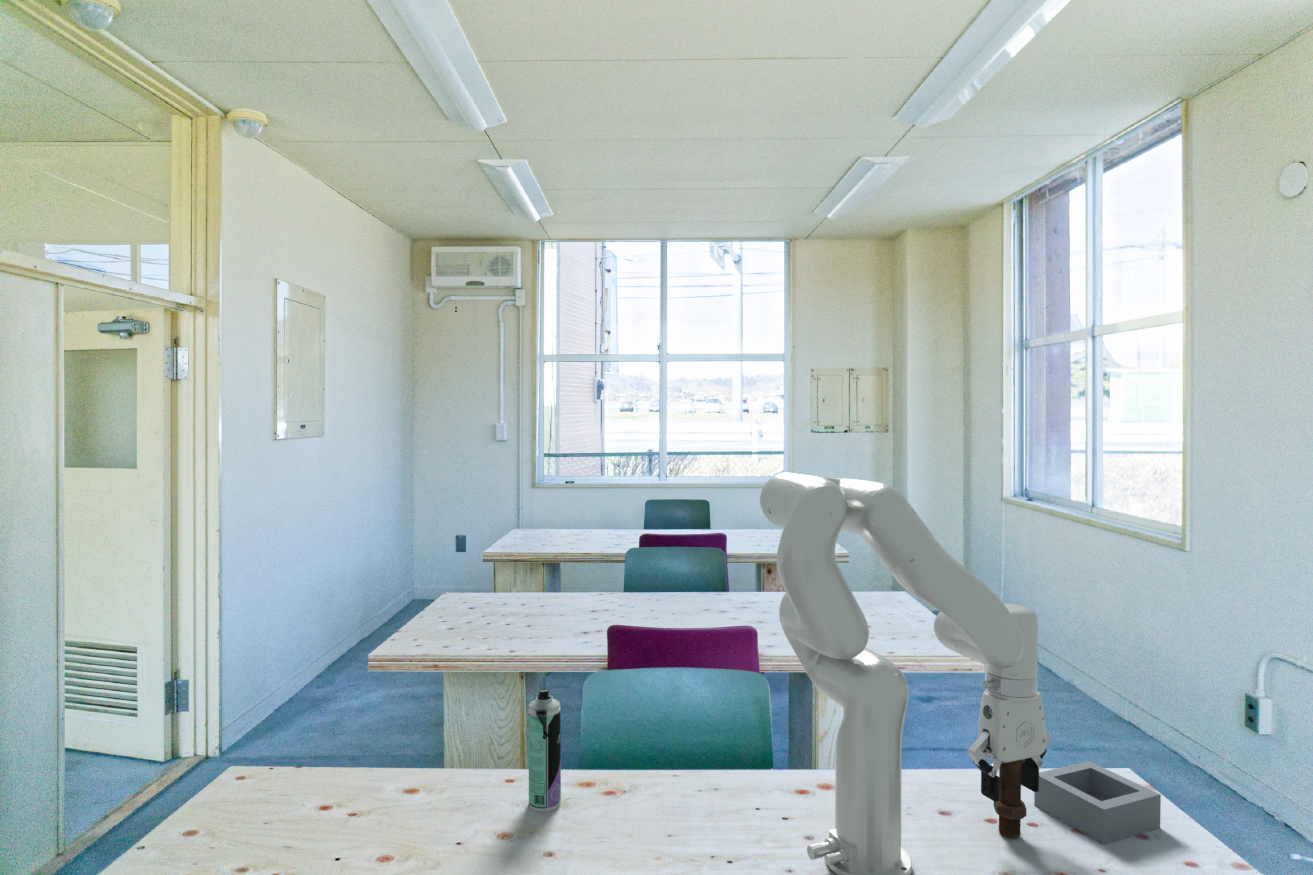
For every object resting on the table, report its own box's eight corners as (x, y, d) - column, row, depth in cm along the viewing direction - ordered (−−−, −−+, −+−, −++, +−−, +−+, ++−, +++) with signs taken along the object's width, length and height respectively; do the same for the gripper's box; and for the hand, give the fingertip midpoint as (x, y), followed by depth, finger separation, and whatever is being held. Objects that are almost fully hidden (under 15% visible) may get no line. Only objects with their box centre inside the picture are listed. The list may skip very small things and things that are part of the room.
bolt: (1031, 846, 118) (1032, 751, 118) (997, 843, 119) (997, 748, 119) (1021, 827, 124) (1022, 736, 123) (988, 823, 125) (989, 733, 124)
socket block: (1103, 844, 119) (1103, 809, 118) (1034, 805, 131) (1034, 773, 131) (1160, 827, 123) (1160, 794, 123) (1088, 791, 135) (1088, 761, 135)
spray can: (564, 809, 129) (563, 693, 129) (532, 815, 127) (532, 697, 127) (556, 794, 135) (556, 682, 134) (525, 800, 133) (525, 686, 132)
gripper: (987, 699, 114) (986, 814, 114) (1071, 684, 121) (1070, 793, 121) (950, 683, 121) (950, 792, 121) (1032, 669, 127) (1031, 773, 128)
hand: (1009, 792), depth 121 cm, fingers open, 7 cm apart
